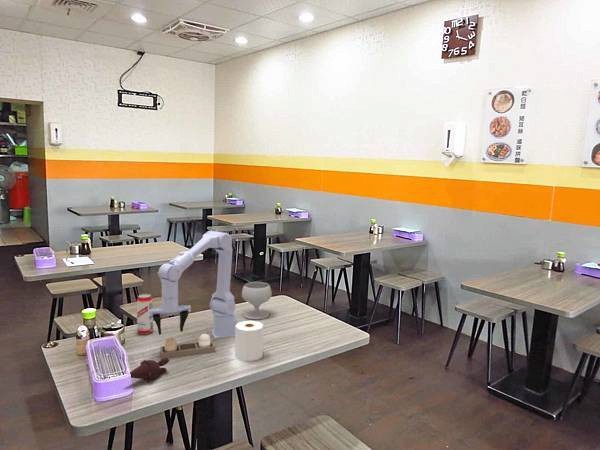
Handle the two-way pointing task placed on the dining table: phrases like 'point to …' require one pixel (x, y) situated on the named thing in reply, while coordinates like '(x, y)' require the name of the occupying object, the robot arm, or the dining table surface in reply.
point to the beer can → (144, 314)
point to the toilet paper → (249, 340)
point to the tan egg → (170, 345)
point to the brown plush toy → (149, 369)
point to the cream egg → (204, 341)
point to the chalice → (256, 298)
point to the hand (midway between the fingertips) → (170, 332)
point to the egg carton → (187, 350)
